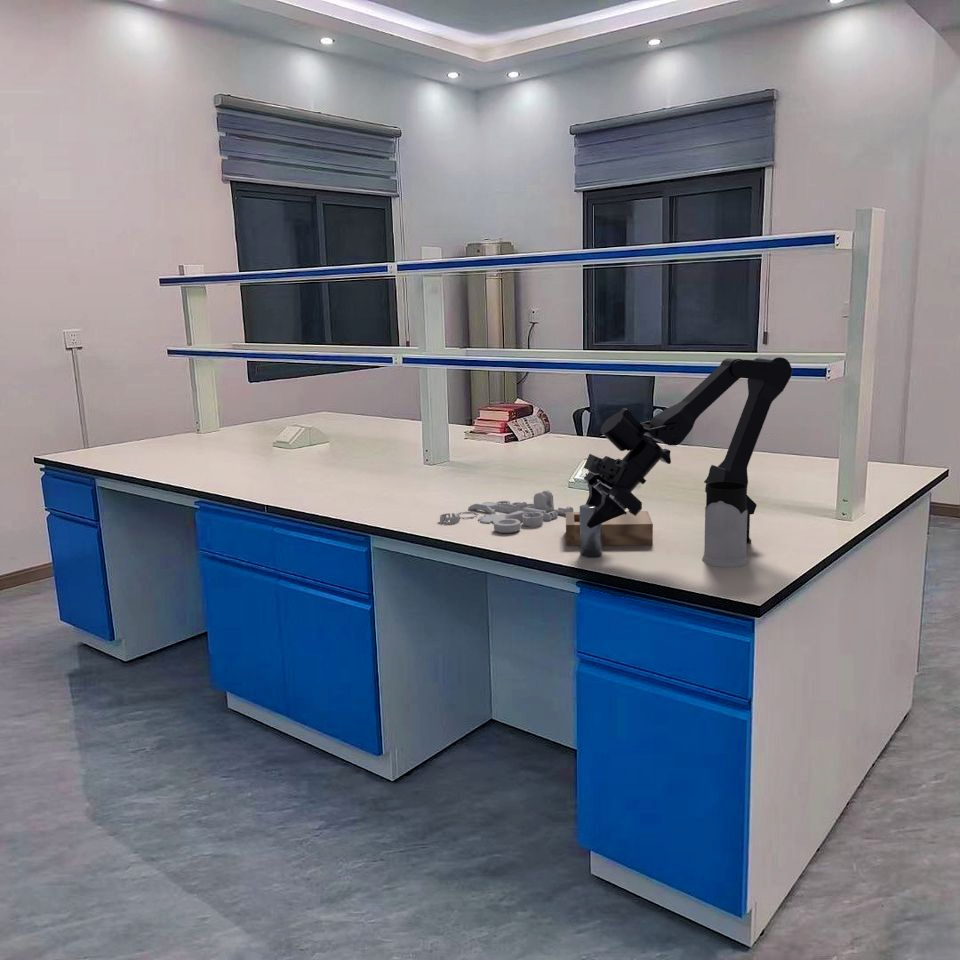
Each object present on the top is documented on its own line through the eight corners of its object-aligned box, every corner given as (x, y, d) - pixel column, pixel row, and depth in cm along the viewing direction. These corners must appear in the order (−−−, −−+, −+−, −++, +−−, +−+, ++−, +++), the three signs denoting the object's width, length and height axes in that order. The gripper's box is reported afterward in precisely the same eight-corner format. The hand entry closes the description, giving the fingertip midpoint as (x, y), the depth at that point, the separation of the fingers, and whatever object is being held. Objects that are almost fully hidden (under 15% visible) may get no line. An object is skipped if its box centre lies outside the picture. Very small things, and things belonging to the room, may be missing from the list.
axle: (601, 551, 178) (601, 503, 176) (602, 557, 173) (602, 509, 171) (580, 551, 178) (579, 504, 176) (580, 557, 174) (579, 509, 172)
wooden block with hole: (647, 530, 191) (647, 510, 191) (652, 544, 181) (652, 523, 180) (566, 531, 193) (565, 512, 192) (566, 545, 182) (565, 524, 182)
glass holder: (696, 563, 167) (697, 488, 164) (716, 544, 179) (718, 474, 176) (741, 569, 163) (743, 492, 160) (760, 549, 175) (762, 477, 171)
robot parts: (430, 524, 207) (428, 502, 206) (498, 502, 225) (497, 482, 224) (508, 540, 191) (507, 517, 190) (575, 515, 209) (575, 494, 208)
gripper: (592, 433, 181) (543, 489, 181) (626, 447, 163) (571, 509, 163) (628, 467, 184) (579, 522, 184) (665, 484, 166) (611, 545, 166)
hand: (584, 523), depth 174 cm, fingers closed on axle, 4 cm apart
